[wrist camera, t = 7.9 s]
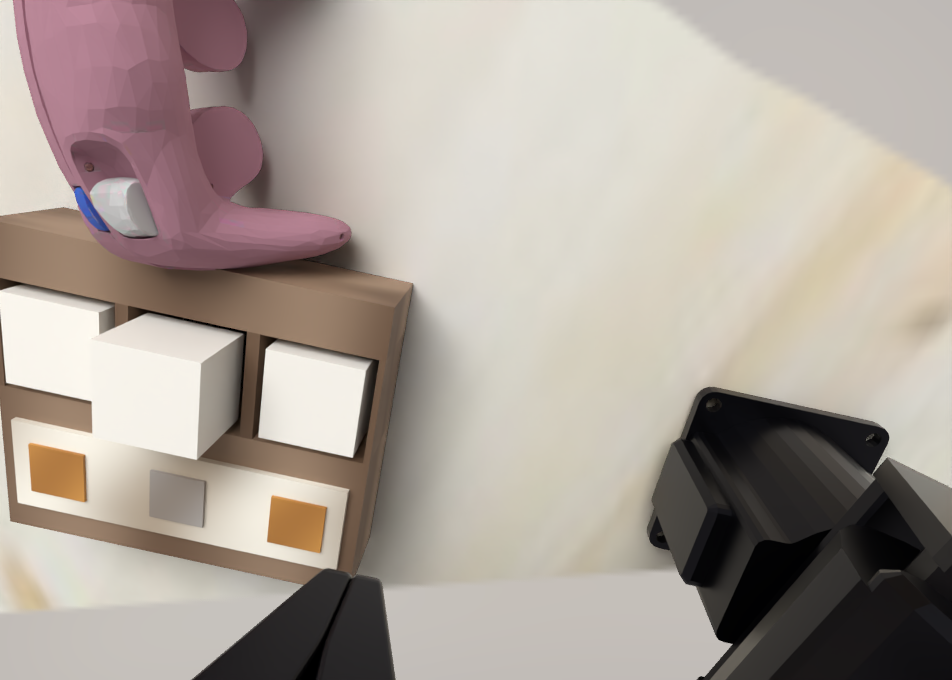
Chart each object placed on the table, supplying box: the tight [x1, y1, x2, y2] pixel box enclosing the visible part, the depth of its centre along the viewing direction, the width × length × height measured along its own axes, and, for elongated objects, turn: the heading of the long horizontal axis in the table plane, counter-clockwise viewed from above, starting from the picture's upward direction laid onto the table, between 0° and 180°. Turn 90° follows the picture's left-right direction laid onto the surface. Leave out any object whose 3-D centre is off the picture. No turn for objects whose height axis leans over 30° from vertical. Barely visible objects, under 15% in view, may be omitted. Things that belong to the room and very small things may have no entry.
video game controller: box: [13, 0, 351, 270], centre depth 15 cm, size 10×5×7 cm, turn 1°
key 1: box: [0, 283, 115, 401], centre depth 18 cm, size 3×3×2 cm
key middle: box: [90, 313, 244, 460], centre depth 17 cm, size 3×3×2 cm
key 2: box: [258, 339, 379, 458], centre depth 18 cm, size 3×3×2 cm
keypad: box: [0, 207, 413, 585], centre depth 19 cm, size 12×11×3 cm
